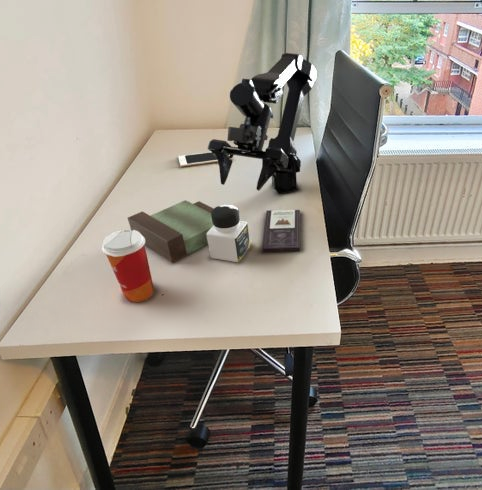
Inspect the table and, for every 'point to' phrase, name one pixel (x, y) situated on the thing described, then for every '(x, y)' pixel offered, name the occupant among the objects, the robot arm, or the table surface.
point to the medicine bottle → (227, 234)
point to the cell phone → (197, 159)
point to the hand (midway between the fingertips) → (239, 187)
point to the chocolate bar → (282, 231)
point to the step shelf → (175, 229)
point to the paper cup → (129, 264)
